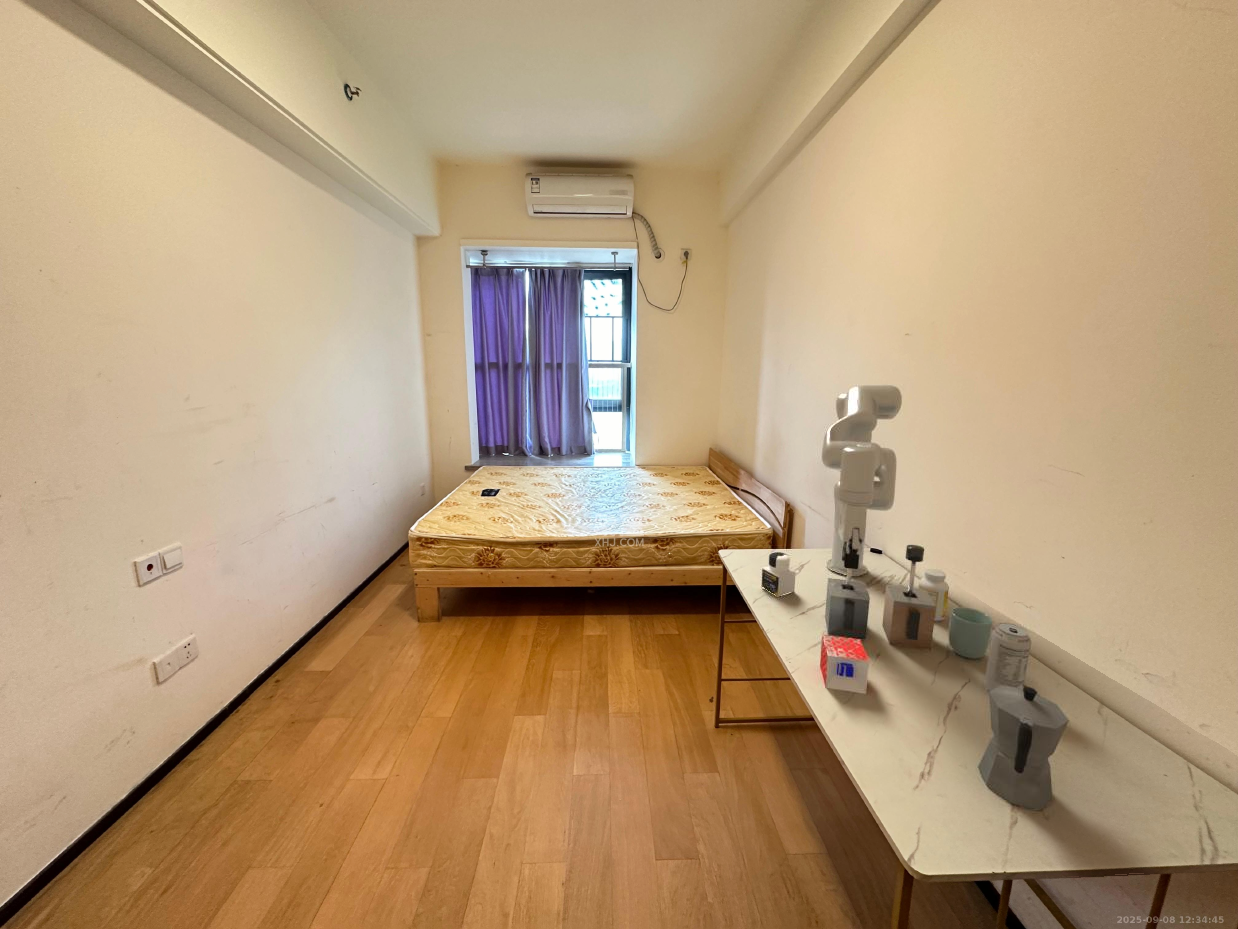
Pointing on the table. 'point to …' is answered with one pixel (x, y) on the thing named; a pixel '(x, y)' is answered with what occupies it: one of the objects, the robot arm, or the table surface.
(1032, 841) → the table surface
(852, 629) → the grey joystick box
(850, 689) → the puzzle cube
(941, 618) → the supplement bottle
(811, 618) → the table surface
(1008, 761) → the coffeepot
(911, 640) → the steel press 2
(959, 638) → the cup
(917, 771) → the table surface
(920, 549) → the plunger
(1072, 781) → the table surface
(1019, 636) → the energy drink can
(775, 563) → the medicine bottle
